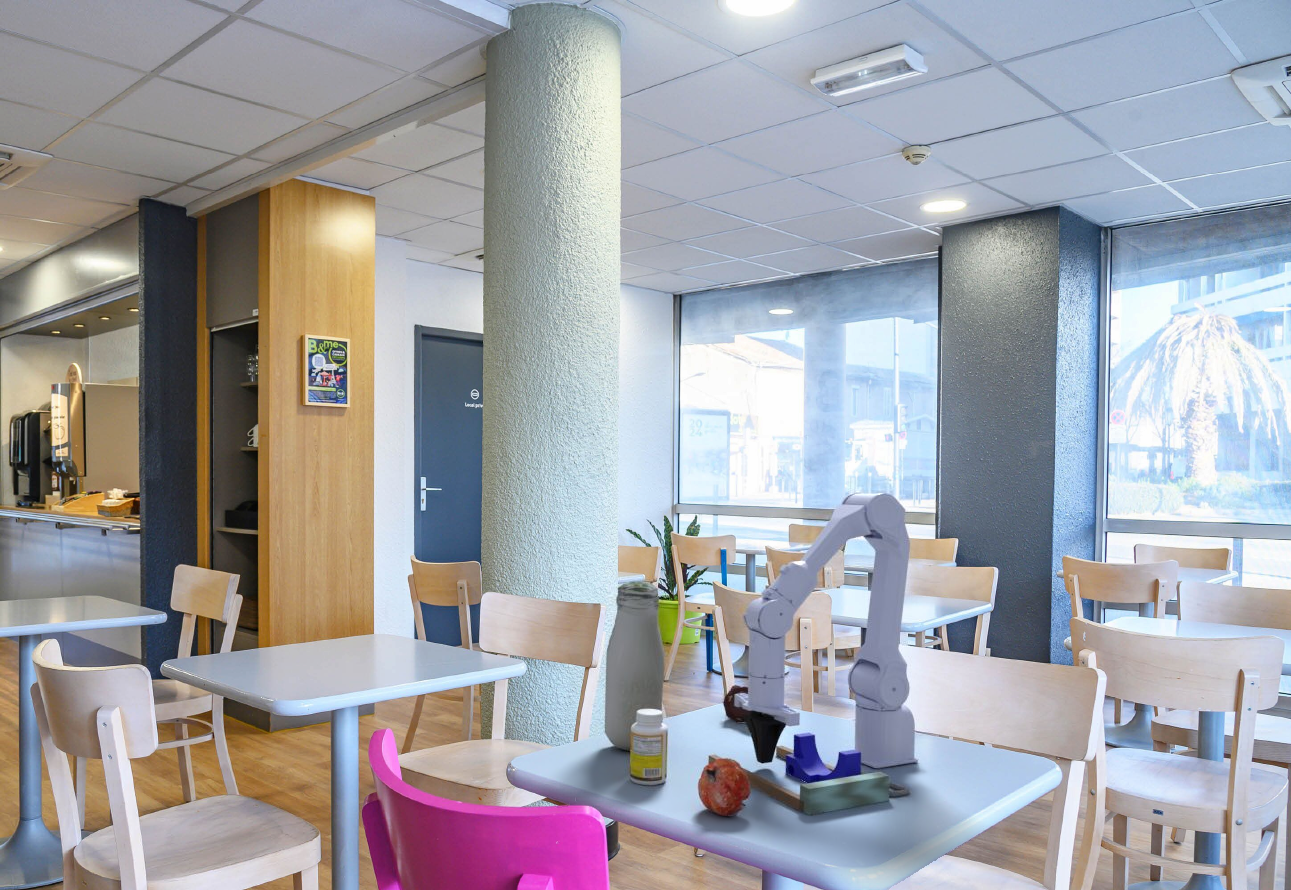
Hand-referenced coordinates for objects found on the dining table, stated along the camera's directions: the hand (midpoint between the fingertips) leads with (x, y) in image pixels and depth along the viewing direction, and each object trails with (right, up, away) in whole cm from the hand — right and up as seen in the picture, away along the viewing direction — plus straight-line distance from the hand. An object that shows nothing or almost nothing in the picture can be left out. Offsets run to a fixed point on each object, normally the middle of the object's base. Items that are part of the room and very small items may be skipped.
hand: (764, 761), depth 145 cm
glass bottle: (-21, -1, +9) cm, 23 cm away
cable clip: (+8, -1, -6) cm, 10 cm away
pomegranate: (-8, 0, -20) cm, 22 cm away
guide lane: (+3, -1, -6) cm, 7 cm away
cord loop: (+15, -1, -6) cm, 17 cm away
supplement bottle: (-19, 0, -8) cm, 20 cm away
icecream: (-1, -3, +30) cm, 30 cm away
